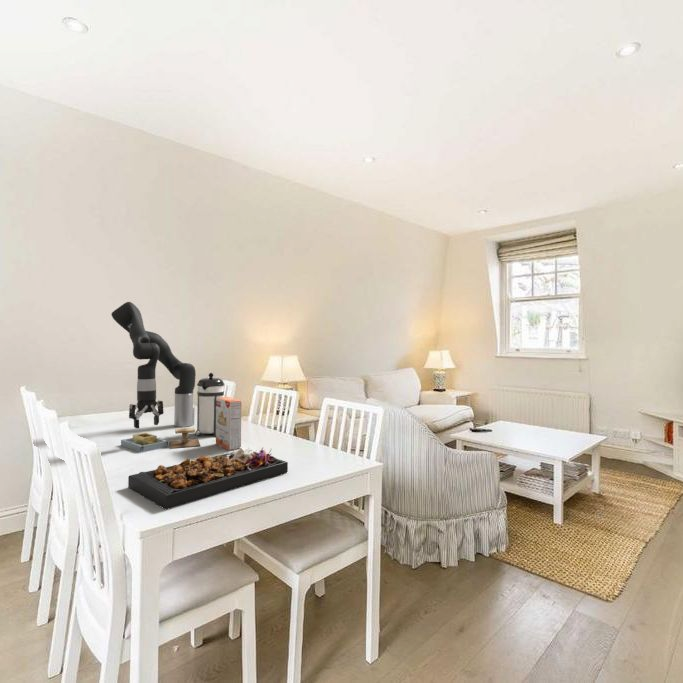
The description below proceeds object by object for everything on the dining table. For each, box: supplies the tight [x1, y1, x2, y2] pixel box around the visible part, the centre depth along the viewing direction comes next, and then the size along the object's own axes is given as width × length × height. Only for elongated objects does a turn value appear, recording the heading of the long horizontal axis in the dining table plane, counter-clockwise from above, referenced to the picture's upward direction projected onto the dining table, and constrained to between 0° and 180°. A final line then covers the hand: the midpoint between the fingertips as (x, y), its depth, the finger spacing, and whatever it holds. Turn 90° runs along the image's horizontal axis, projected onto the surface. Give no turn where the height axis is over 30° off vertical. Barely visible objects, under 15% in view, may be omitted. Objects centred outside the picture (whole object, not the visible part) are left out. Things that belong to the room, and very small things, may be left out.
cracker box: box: [215, 396, 242, 451], centre depth 186 cm, size 14×6×21 cm, turn 39°
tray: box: [120, 437, 169, 453], centre depth 184 cm, size 17×12×2 cm
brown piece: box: [169, 427, 201, 450], centre depth 188 cm, size 12×12×6 cm
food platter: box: [127, 446, 289, 510], centre depth 143 cm, size 45×25×10 cm, turn 139°
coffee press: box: [194, 372, 225, 438], centre depth 210 cm, size 17×16×30 cm
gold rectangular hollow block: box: [132, 432, 158, 446], centre depth 184 cm, size 10×6×4 cm, turn 53°
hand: (146, 426), depth 184 cm, fingers open, 8 cm apart
